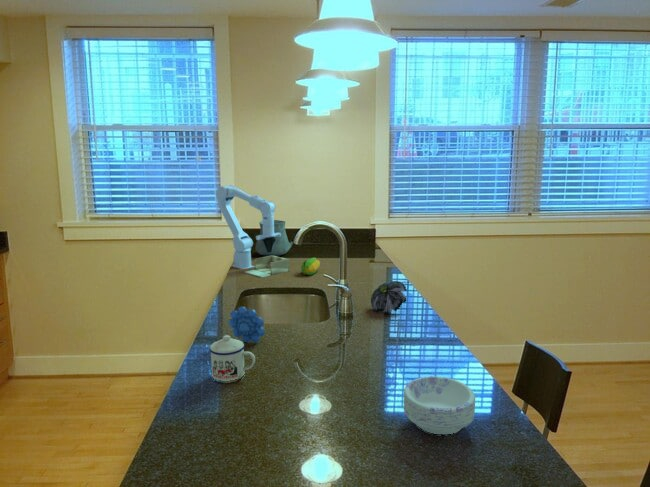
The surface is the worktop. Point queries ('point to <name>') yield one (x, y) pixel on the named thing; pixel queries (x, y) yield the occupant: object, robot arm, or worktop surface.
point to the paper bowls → (439, 404)
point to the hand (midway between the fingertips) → (269, 252)
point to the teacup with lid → (229, 359)
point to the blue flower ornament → (246, 324)
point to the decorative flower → (388, 297)
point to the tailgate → (257, 273)
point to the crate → (272, 265)
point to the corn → (310, 266)
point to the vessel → (280, 243)
